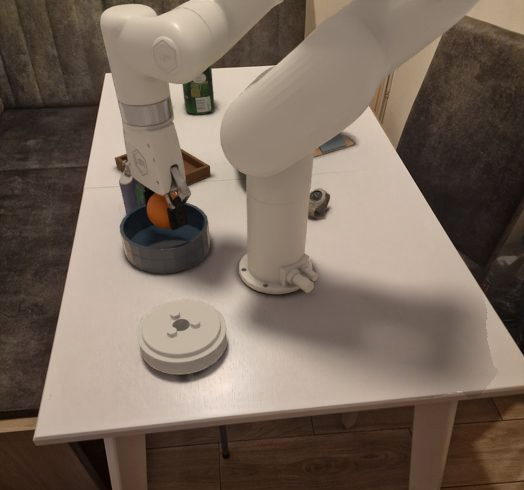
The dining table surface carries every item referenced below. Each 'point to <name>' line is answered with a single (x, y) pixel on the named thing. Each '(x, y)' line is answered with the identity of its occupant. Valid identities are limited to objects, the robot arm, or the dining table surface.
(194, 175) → the tray
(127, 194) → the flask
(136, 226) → the bowl
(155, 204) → the mandarin
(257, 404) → the dining table surface
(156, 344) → the lid
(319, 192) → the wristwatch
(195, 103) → the coffee jar
